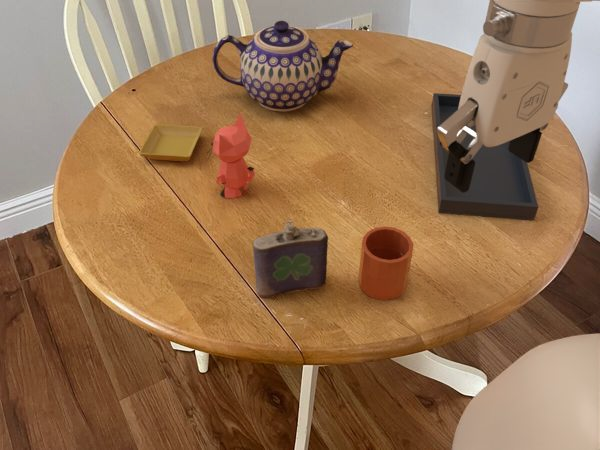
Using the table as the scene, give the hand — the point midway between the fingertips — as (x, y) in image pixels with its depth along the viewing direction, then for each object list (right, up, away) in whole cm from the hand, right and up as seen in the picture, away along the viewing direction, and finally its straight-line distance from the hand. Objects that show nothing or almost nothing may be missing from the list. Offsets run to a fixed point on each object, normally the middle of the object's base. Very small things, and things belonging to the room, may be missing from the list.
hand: (488, 170), depth 65 cm
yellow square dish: (-42, +6, +33) cm, 54 cm away
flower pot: (-10, -13, +12) cm, 20 cm away
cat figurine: (-31, -1, +26) cm, 40 cm away
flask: (-22, -14, +11) cm, 29 cm away
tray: (+8, +5, +31) cm, 33 cm away
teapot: (-24, +18, +45) cm, 54 cm away
